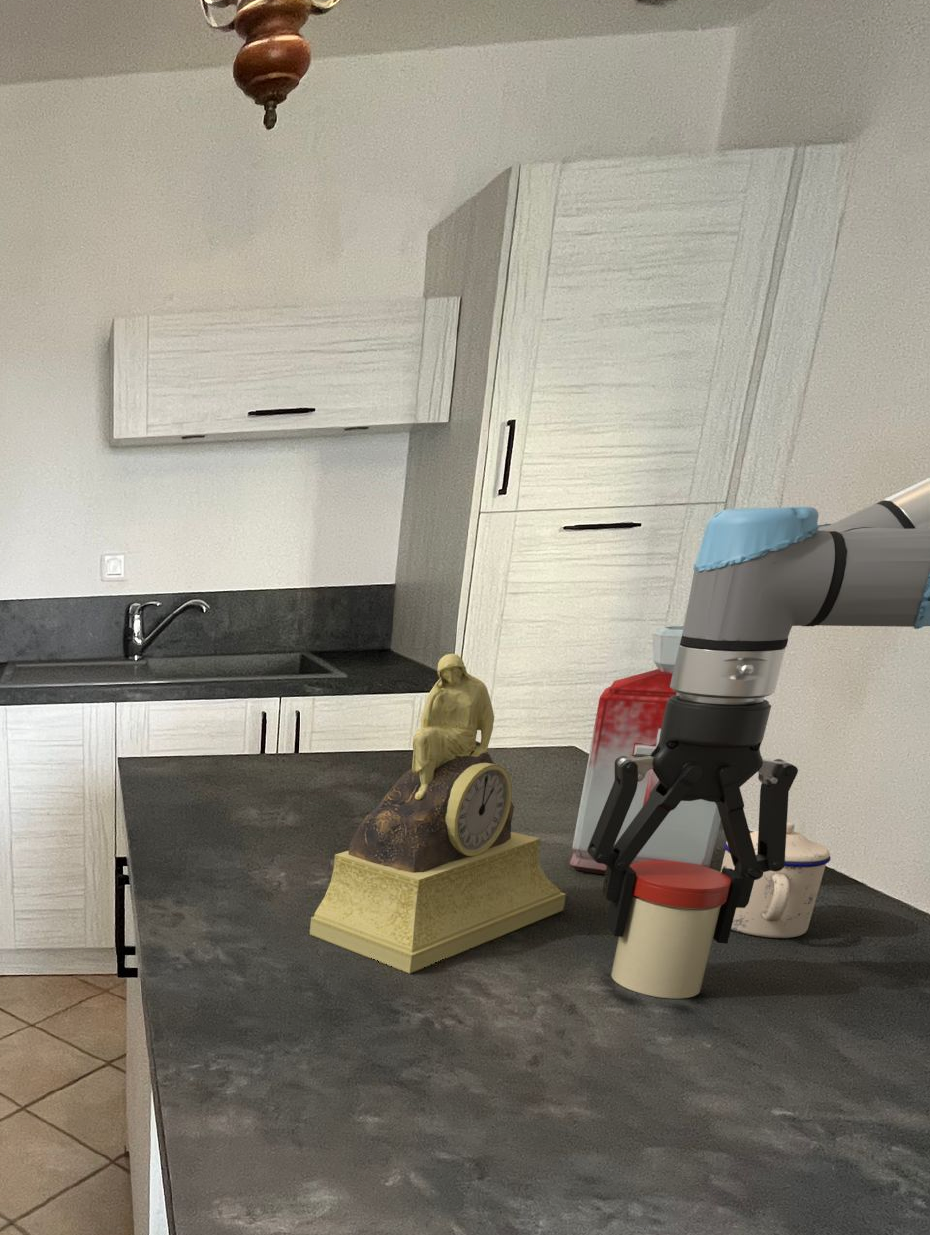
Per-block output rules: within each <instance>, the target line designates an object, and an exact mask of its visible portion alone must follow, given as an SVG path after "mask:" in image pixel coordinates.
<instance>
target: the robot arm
mask: <svg viewBox="0 0 930 1235" xmlns="http://www.w3.org/2000/svg"><path fill="white" fill-rule="evenodd" d="M818 520H819V511H818V510H817V509H816V508H815V507H813V506H780V507H746V508H745V507H744V508H743V507H742V508H727V509H723V510H720V511H718V512H716V513H715V514H714V515H713V516H711V518H710V519H709V520H708V521H707V523H706V526H705V529H704V532H703V536H702V540H701V543H700V547H699V551H698V554H697V558H696V561H695V563H694V564H693V567H692V570H693V576H692V582H691V585H690V592H689V597H688V603H687V608H686V612H685V618H684V624H683V626H684V628H683V633H682V637H681V641H680V645H679V649H678V653H677V658H676V662H675V666H674V671H673V675H672V679H671V684H670V688H671V689H672V690H673V691H675V692H677V694H676V695H673V696H671V698H669V699H668V700H667V704H666V709H665V713H664V718H663V723H662V728H661V732H660V739H659V743H658V745H657V747H656V748H655V750H654V751H653V752H652V753H651V755H650V756H645V757H638V758H628V757H626V756H620V757H618V758H617V759H616V760H615V781H614V783H613V786H612V788H611V791H610V793H609V796H608V798H607V801H606V803H605V806H604V808H603V811H602V813H601V816H600V818H599V821H598V824H597V826H596V829H595V831H594V834H593V836H592V839H591V841H590V844H589V846H588V849H587V851H588V853H589V855H590V856H591V857H592V858H593V859H594V860H595V861H596V862H597V863H602V864H605V865H606V866H607V868H606V873H605V875H604V879H603V883H602V888H601V893H602V895H603V897H604V898H605V900H606V901H608V902H609V909H608V913H607V917H606V922H605V927H606V928H607V929H608V930H609V932H610V933H611V934H612V936H613V937H623V934H624V929H625V924H626V920H627V915H628V910H629V906H630V901H631V896H632V892H633V887H634V882H635V878H636V872H635V871H634V870H633V869H632V868H631V867H630V866H629V865H630V864H631V863H632V861H633V860H634V859H635V857H636V856H637V855H638V853H639V852H640V851H641V849H642V848H643V847H644V845H645V844H646V843H647V841H648V840H649V839H650V837H651V836H652V835H653V833H654V832H655V831H656V829H657V828H658V827H659V825H660V824H661V823H662V821H663V820H664V819H665V817H666V816H667V815H668V813H669V812H670V811H671V810H674V809H675V808H676V807H677V806H678V804H679V803H680V802H681V801H694V800H699V799H702V800H706V801H709V802H715V803H716V805H717V807H718V811H719V815H720V818H721V821H720V823H721V825H722V830H723V832H724V835H725V836H724V837H725V839H726V840H725V841H727V843H728V847H729V851H730V854H731V858H732V862H733V865H734V867H735V869H734V870H733V869H729V868H722V873H723V874H725V875H727V876H728V877H729V878H730V879H731V885H730V889H729V893H728V897H727V901H726V903H724V904H723V905H721V908H720V912H719V916H718V921H717V925H716V929H715V933H714V937H713V940H715V942H717V944H728V942H729V939H730V934H731V931H732V930H731V927H732V923H733V919H734V915H735V911H736V908H745V907H746V906H747V905H748V903H749V899H750V896H751V892H752V888H753V884H754V880H758V879H760V878H761V877H762V876H763V872H767V871H775V872H777V871H780V870H782V869H783V868H784V865H785V849H786V831H787V822H788V814H789V813H788V811H789V810H788V809H789V793H790V789H791V788H792V786H793V783H794V781H795V779H796V777H797V775H798V773H799V769H798V767H797V766H796V765H794V764H792V763H790V762H788V761H786V760H784V759H781V758H775V759H773V760H770V759H765V758H763V756H762V754H761V746H762V742H763V740H764V737H765V733H766V728H767V725H768V720H769V718H770V713H771V709H772V705H771V704H770V702H769V701H768V700H767V699H765V698H767V697H769V696H772V695H773V694H774V693H775V692H776V688H777V684H778V680H779V676H780V672H781V667H782V665H783V660H784V657H785V653H786V648H787V647H788V642H789V635H790V633H791V630H792V628H793V627H815V626H816V627H817V626H819V627H820V626H823V627H825V626H826V627H828V626H829V627H897V628H898V627H900V628H903V627H905V628H906V627H907V628H909V627H911V628H913V629H914V630H919V629H921V628H924V627H930V477H928V478H925V479H923V480H921V481H919V482H916V483H915V484H913V485H911V486H908V487H907V488H904V489H903V490H900V491H898V492H896V493H894V494H891V495H890V496H888V497H886V498H884V499H882V500H880V501H879V502H876V503H874V504H872V505H869V506H867V507H864V508H863V509H861V510H858V511H856V512H854V513H852V514H850V515H848V516H846V517H844V518H842V519H840V520H837V521H836V522H833V523H823V524H818ZM650 769H653V771H654V773H655V774H656V776H657V777H658V779H659V781H658V783H657V784H656V786H655V787H654V788H653V790H652V791H651V793H650V795H649V799H648V800H647V802H646V803H645V804H644V806H643V807H642V808H641V810H640V811H639V813H638V814H637V815H636V817H635V818H634V819H633V821H632V822H631V823H630V825H629V826H628V828H627V829H626V830H625V832H624V833H623V834H622V836H621V837H620V838H619V840H618V841H617V843H616V844H615V842H616V839H617V837H618V834H619V832H620V830H621V827H622V825H623V822H624V820H625V817H626V815H627V812H628V810H629V808H630V805H631V803H632V800H633V798H634V795H635V793H636V790H637V785H638V782H639V781H642V780H643V779H644V777H645V774H646V772H647V771H648V770H650ZM756 774H758V776H757V778H758V781H759V782H760V783H761V784H760V790H759V810H758V829H757V830H758V852H757V855H756V854H755V850H754V846H753V843H752V839H751V835H750V833H751V832H750V828H749V824H748V821H747V818H746V814H745V810H744V809H745V803H744V802H745V801H744V799H743V795H742V791H741V787H742V786H743V785H744V784H745V783H747V782H748V781H749V780H750V779H751V778H752V777H753V776H754V775H756ZM614 844H615V845H614Z"/></svg>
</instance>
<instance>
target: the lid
mask: <svg viewBox="0 0 930 1235" xmlns="http://www.w3.org/2000/svg"><path fill="white" fill-rule="evenodd" d="M630 867H631V868H632V869H633V870H634V871H635V872H636V878H635V882H634V887H633V892H632V894H633V895H635V896H637V897H639V898H641V899H644V900H647V901H650V902H654V903H658V904H663V905H668V906H674V907H683V908H712V907H717V906H721V905H723V904H724V903H726V901H727V897H728V893H729V889H730V885H731V879H730V878H729V877H728V876H727V875H725V874H723V873H722V872H720V871H719V870H718V869H717V870H716V869H714V868H711V867H704V866H700V865H696V864H691V863H684V862H677V861H662V860H652V861H642V862H637V863H634V864H632V865H630Z"/></svg>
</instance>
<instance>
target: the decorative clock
mask: <svg viewBox="0 0 930 1235" xmlns="http://www.w3.org/2000/svg"><path fill="white" fill-rule="evenodd" d="M436 672H437V676H438V678H439V679H438V680H437V681H436V682H435V684H434V685H433V687H432V688H431V690H430V691H429V693H428V695H427V697H426V700H425V703H424V706H423V709H422V712H421V715H420V728H419V729H418V730H417V731H416V732H415V733H414V735H413V739H412V750H413V754H412V765H411V766H412V767H410V769H409V770H407V771H406V772H404V773H403V774H402V775H401V776H400V777H399V778H398V779H397V781H396V782H395V784H393V786H392V787H391V788H390V790H389V791H388V792H387V793H386V794H385V795H384V796H383V798H382V799H381V801H380V802H379V803H378V805H377V806H376V807H375V808H374V810H373V811H371V812H370V813H369V814H367V815H365V817H364V818H363V820H362V822H361V823H360V824H359V826H358V827H357V829H356V831H355V833H354V835H353V836H352V838H351V841H350V842H349V844H348V850H345V851H343V852H339V853H335V854H334V862H333V870H332V874H331V879H330V883H329V885H328V887H327V890H326V893H325V895H324V897H323V898H322V900H321V902H320V904H319V906H318V907H317V909H316V910H315V912H314V916H311V917H310V923H309V924H310V926H309V935H310V936H312V937H315V938H318V939H319V940H323V941H325V942H328V943H330V944H333V945H335V946H338V947H340V948H342V949H346V950H347V951H351V952H354V953H356V954H358V955H361V956H363V957H366V958H367V959H368V958H369V959H371V958H372V959H371V960H373V959H375V960H374V961H376V962H378V961H379V963H381V964H383V965H386V964H387V965H386V966H389V967H391V966H392V967H391V968H394V969H397V970H399V971H401V970H402V971H401V972H404V973H407V974H409V975H410V974H412V973H415V972H417V971H420V970H422V969H424V967H425V968H427V967H429V966H432V965H434V964H436V963H435V962H437V963H439V962H441V961H443V960H442V959H444V960H446V959H449V958H451V957H454V956H456V955H458V954H461V953H464V952H465V951H469V950H471V949H473V948H475V947H478V946H480V945H482V944H485V943H488V942H490V941H493V940H495V939H497V938H500V937H502V936H504V935H507V934H509V933H511V932H514V931H517V930H519V929H521V928H524V927H527V926H530V925H531V924H534V923H537V922H538V921H541V920H543V919H546V918H548V917H551V916H554V915H556V914H558V913H560V912H563V911H564V908H565V902H566V896H567V893H565V892H561V889H559V887H557V886H556V885H555V884H554V883H553V882H552V881H551V880H550V879H548V877H547V875H546V874H545V872H544V869H543V868H542V867H541V862H540V854H539V851H540V845H541V838H540V837H537V836H532V835H528V834H527V835H526V834H524V833H523V834H522V833H519V832H514V831H512V823H513V822H512V821H513V815H514V810H515V805H514V803H513V802H512V795H513V791H512V790H513V788H512V787H513V786H512V782H511V778H510V777H511V776H510V775H509V773H508V772H507V770H506V769H505V768H504V767H503V766H501V765H499V764H495V763H494V760H493V758H492V756H491V755H490V753H489V752H488V748H489V744H490V741H491V737H492V733H493V730H494V722H495V713H494V708H493V705H492V700H491V696H490V694H489V689H488V687H487V686H486V684H485V683H484V682H483V681H482V680H480V679H479V678H478V677H475V676H472V675H471V674H470V673H468V672H467V667H466V666H465V662H464V660H463V658H461V657H460V655H458V654H456V653H448V654H447V653H446V654H445V655H443V656H442V657H441V658H440V659H439V660H438V662H437V670H436ZM478 731H480V735H481V736H480V741H477V740H476V739H477V735H478ZM470 948H471V949H470ZM445 958H446V959H445ZM377 960H378V961H377ZM440 960H441V961H440ZM438 961H439V962H438ZM431 964H432V965H431Z"/></svg>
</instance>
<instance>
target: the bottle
mask: <svg viewBox="0 0 930 1235" xmlns="http://www.w3.org/2000/svg"><path fill="white" fill-rule="evenodd" d="M683 628H684V625H671V626H670V625H669V626H662V627H658V628H656V629H655V630H654V632H652V654H653V656H652V657H653V663H654V665H656V667H657V669H653V670H649V671H645V672H642V673H638V674H633V675H630V676H626V677H624V678H623V677H622V678H620V679H615V680H613V682H612V683H611V685H610V686H608V687H606V688H605V689H604V690H603V691H602V693H601V695H600V696H599V697H598V698H599V699H598V704H597V710H596V715H595V720H594V725H593V726H594V727H593V730H592V731H593V733H592V739H591V743H590V748H589V753H588V760H587V765H586V770H585V776H584V781H583V786H582V792H581V796H580V802H579V809H578V813H577V818H576V825H575V829H574V830H575V831H574V835H573V840H572V848H571V849H572V850H573V854H572V856H571V859H570V861H569V865H570V866H571V867H572V868H573V869H574V870H575V871H577V872H584V873H590V874H598V875H604V876H605V873H606V868H607V866H606V865H605V864H602V863H597V862H596V861H595V860H594V859H593V858H592V857H591V856H590V855H589V853H588V851H587V849H588V846H589V844H590V841H591V839H592V836H593V834H594V831H595V829H596V826H597V824H598V821H599V818H600V816H601V813H602V811H603V808H604V806H605V803H606V801H607V798H608V796H609V793H610V791H611V788H612V786H613V783H614V781H615V760H616V759H617V758H618V757H620V756H626V757H628V758H638V757H645V756H650V755H651V753H652V752H653V751H654V750H655V748H656V747H657V745H658V743H659V739H660V732H661V728H662V723H663V718H664V713H665V709H666V704H667V700H668V699H669V698H671V696H673V695H676V694H677V692H675V691H673V690H672V689H671V688H670V684H671V679H672V675H673V671H674V666H675V662H676V658H677V653H678V649H679V645H680V641H681V637H682V633H683ZM658 781H659V779H658V777H657V776H656V774H655V773H654V771H653V769H650V770H648V771H647V772H646V774H645V777H644V779H643V780H642V781H639V782H638V785H637V790H636V793H635V795H634V798H633V800H632V803H631V805H630V808H629V810H628V812H627V815H626V817H625V820H624V822H623V825H622V827H621V830H620V832H619V834H618V837H617V839H616V842H615V844H616V843H617V841H618V840H619V838H620V837H621V836H622V834H623V833H624V832H625V830H626V829H627V828H628V826H629V825H630V823H631V822H632V821H633V819H634V818H635V817H636V815H637V814H638V813H639V811H640V810H641V808H642V807H643V806H644V804H645V803H646V802H647V800H648V799H649V795H650V793H651V791H652V790H653V788H654V787H655V786H656V784H657V783H658ZM720 825H721V818H720V815H719V811H718V807H717V805H716V803H715V802H709V801H706V800H702V799H699V800H694V801H681V802H680V803H679V804H678V806H677V807H676V808H675V809H674V810H671V811H670V812H669V813H668V815H667V816H666V817H665V819H664V820H663V821H662V823H661V824H660V825H659V827H658V828H657V829H656V831H655V832H654V833H653V835H652V836H651V837H650V839H649V840H648V841H647V843H646V844H645V845H644V847H643V848H642V849H641V851H640V852H639V853H638V855H637V856H636V857H635V859H634V860H633V861H632V863H631V864H630V865H632V864H634V863H637V862H642V861H652V860H662V861H677V862H684V863H691V864H696V865H700V866H704V867H708V868H710V866H711V863H712V858H713V855H714V851H715V846H716V843H717V839H718V838H717V837H718V834H719V831H720V830H719V829H720V827H721V826H720ZM615 844H614V845H615ZM630 865H629V866H630Z"/></svg>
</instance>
